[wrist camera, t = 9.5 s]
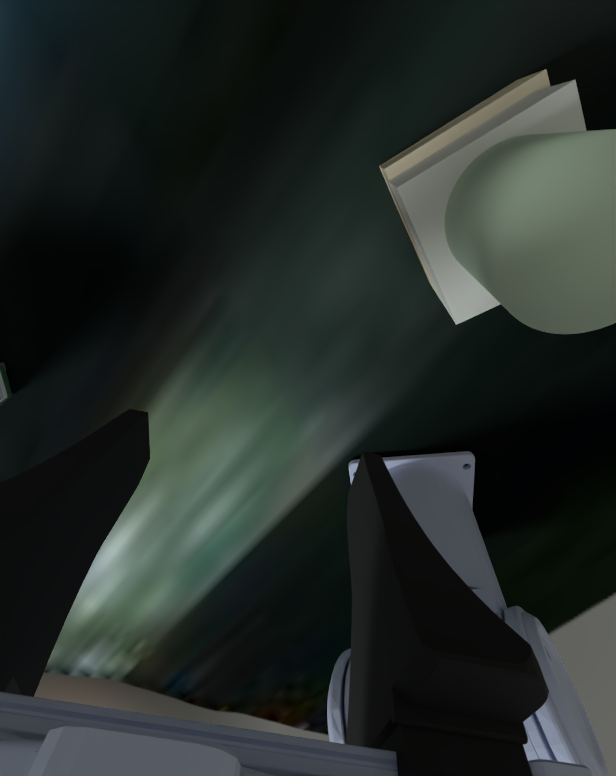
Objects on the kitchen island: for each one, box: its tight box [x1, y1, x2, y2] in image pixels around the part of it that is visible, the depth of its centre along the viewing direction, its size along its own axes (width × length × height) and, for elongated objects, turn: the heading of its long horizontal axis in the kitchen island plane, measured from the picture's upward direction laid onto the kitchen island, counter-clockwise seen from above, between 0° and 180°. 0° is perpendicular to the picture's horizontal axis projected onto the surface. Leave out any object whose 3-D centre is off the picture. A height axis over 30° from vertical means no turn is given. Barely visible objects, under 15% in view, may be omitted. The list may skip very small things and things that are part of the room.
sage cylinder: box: [445, 129, 616, 334], centre depth 11 cm, size 4×4×5 cm
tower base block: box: [379, 69, 551, 299], centre depth 17 cm, size 6×6×3 cm
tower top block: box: [388, 80, 586, 325], centre depth 15 cm, size 6×6×3 cm
